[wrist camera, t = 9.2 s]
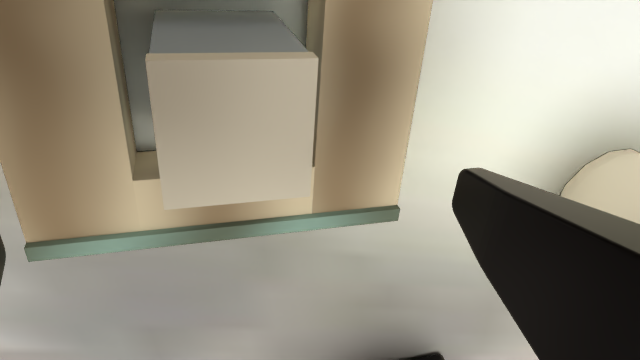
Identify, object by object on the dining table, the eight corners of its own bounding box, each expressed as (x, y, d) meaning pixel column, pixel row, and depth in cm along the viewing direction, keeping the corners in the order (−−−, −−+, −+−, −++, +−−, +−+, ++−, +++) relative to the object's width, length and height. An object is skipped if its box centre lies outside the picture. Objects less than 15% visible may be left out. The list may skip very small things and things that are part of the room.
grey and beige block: (274, 10, 17) (318, 58, 12) (273, 116, 19) (309, 196, 14) (153, 8, 16) (145, 61, 11) (166, 121, 18) (164, 210, 13)
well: (420, -110, 16) (457, -111, 14) (376, 190, 22) (397, 220, 20) (-63, -152, 12) (-110, -162, 10) (44, 220, 18) (28, 262, 16)
